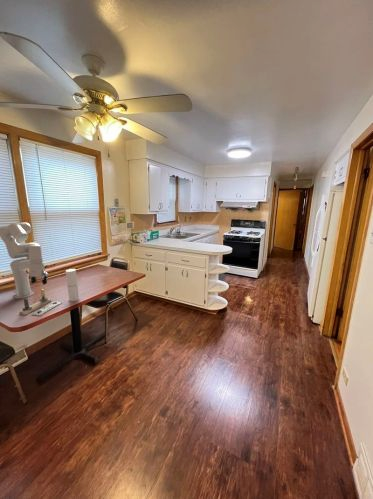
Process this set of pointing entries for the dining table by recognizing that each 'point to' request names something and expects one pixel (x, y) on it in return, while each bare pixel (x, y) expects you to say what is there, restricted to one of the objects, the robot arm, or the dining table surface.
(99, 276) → the dining table surface
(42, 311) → the flange plate
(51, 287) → the dining table surface
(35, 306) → the divider rail
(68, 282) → the cylindrical container
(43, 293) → the slide pin
